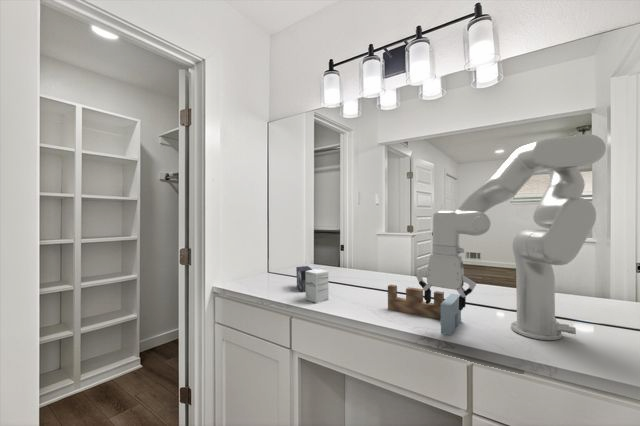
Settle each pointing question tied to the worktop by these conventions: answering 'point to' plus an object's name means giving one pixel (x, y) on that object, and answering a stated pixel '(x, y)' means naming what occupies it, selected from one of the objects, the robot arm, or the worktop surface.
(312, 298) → the supplement box
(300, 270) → the small box
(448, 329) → the crosspiece
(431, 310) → the notched board
